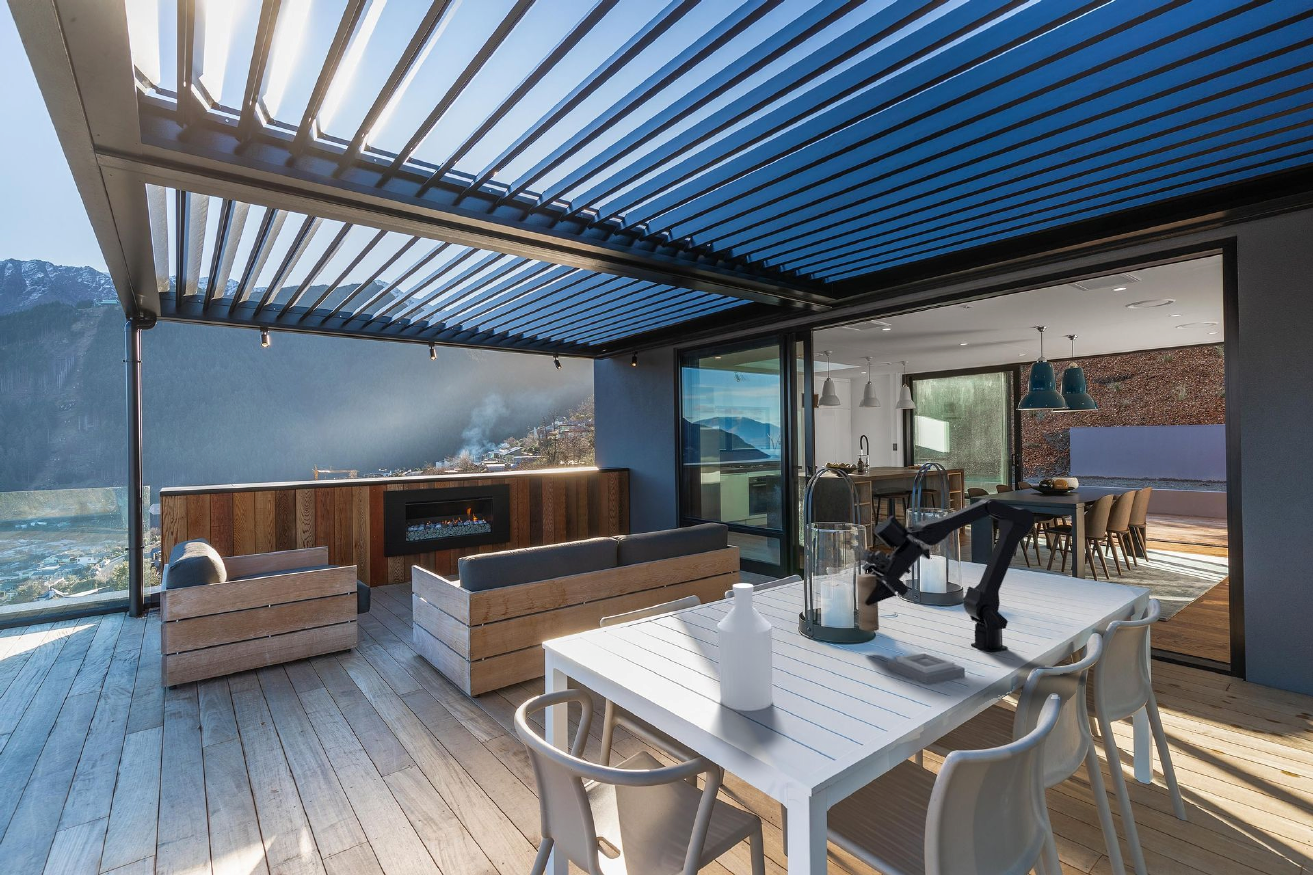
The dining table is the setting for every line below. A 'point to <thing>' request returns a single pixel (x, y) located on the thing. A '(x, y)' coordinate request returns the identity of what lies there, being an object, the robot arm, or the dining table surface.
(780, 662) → the dining table surface
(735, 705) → the bottle
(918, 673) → the base
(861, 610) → the post
